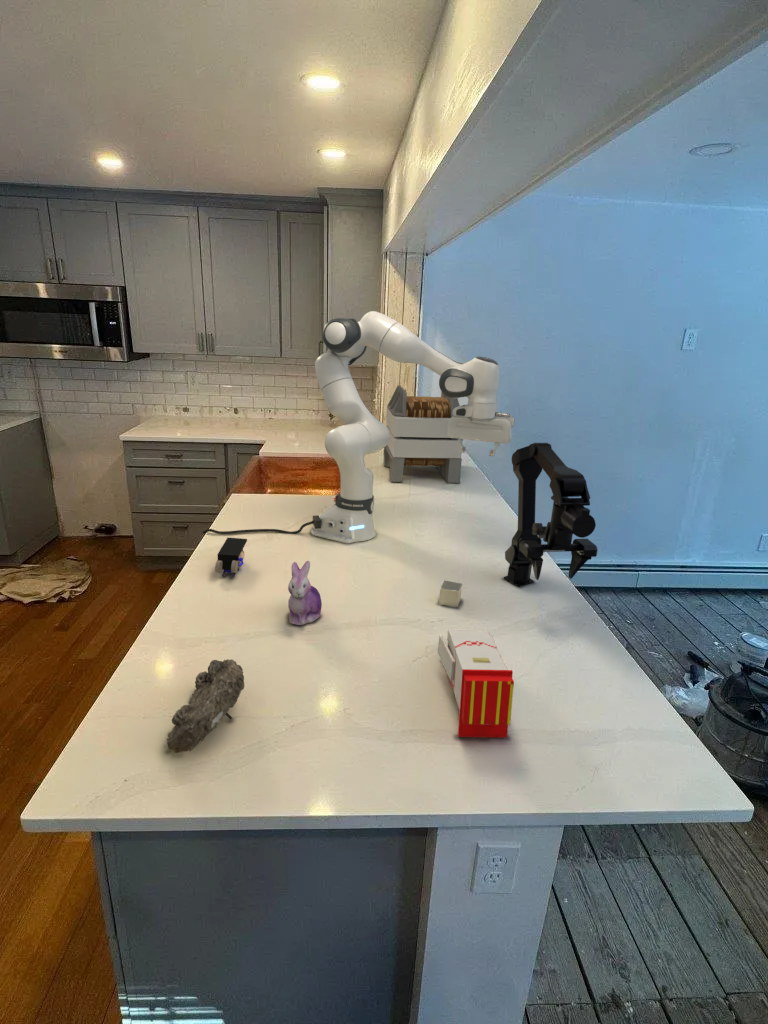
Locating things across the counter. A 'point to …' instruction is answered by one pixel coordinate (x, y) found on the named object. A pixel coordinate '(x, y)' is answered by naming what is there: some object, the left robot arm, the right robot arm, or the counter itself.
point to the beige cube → (450, 594)
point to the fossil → (206, 705)
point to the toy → (478, 682)
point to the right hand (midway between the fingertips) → (553, 578)
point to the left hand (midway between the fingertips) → (477, 454)
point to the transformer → (421, 435)
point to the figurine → (303, 597)
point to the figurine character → (230, 556)
